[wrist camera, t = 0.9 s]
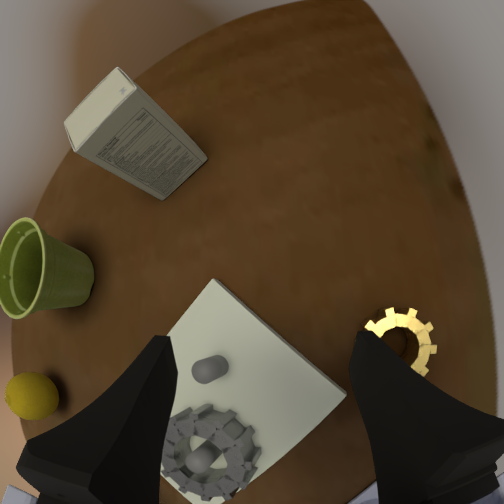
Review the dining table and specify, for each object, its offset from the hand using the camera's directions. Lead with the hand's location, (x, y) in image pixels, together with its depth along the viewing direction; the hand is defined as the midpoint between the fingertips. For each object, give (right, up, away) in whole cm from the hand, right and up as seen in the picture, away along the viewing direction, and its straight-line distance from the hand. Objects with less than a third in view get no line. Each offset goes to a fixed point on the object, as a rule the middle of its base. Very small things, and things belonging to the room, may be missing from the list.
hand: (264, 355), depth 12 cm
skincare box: (-8, +12, +19) cm, 24 cm away
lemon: (-24, -13, +18) cm, 32 cm away
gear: (-4, -12, +11) cm, 17 cm away
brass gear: (+10, -3, +10) cm, 15 cm away
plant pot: (-20, +1, +20) cm, 28 cm away
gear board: (-4, -10, +13) cm, 17 cm away
